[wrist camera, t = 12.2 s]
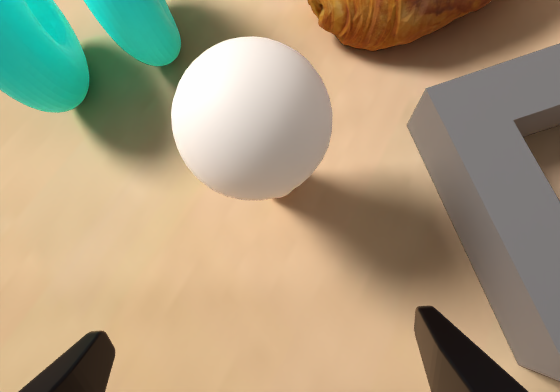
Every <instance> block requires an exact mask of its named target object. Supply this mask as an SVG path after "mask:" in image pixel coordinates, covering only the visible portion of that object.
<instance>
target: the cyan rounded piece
mask: <svg viewBox="0 0 560 392" xmlns="http://www.w3.org/2000/svg"><path fill="white" fill-rule="evenodd" d="M84 2H85V3H86V5H87V6H88V8H89V9H90V11H91V12H92V13H93V15H94V16H95V18H96V19H97V20H98V22H99V23H100V24H101V26H102V27H103V28H104V29H105V31H106V32H107V33H108V34H109V35H110V36H111V38H112V39H113V40H114V41H115V42H116V43H117V44H118V45H119V46H120V47H121V48H122V49H123V50H124V51H126V52H127V53H128V54H129V55H131V56H132V57H134V58H135V59H137V60H139V61H141V62H143V63H145V64H148V65H152V66H164V65H168V64H170V63H172V62H173V61H174V60H175V59H176V58H177V56H178V55H179V52H180V49H181V38H180V34H179V31H178V28H177V26H176V23H175V21H174V18H173V16H172V14H171V12H170V10H169V8H168V5H167V3H166V1H165V0H84ZM88 89H89V70H88V64H87V61H86V57H85V54H84V52H83V49H82V47H81V45H80V42H79V40H78V38H77V36H76V35H75V33H74V31H73V29H72V27H71V26H70V24H69V22H68V21H67V19H66V18H65V16H64V15H63V13H62V12H61V10H60V9H59V7H58V6H57V5H56V3H55V2H54V1H53V0H0V90H1V91H3V92H4V93H6V94H7V95H9V96H10V97H12V98H13V99H15V100H17V101H19V102H21V103H23V104H25V105H27V106H29V107H32V108H34V109H38V110H41V111H45V112H57V113H59V112H65V111H69V110H71V109H74V108H75V107H77V106H78V105H79V104H81V102H82V101H83V100H84V98H85V97H86V94H87V92H88Z"/></svg>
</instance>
